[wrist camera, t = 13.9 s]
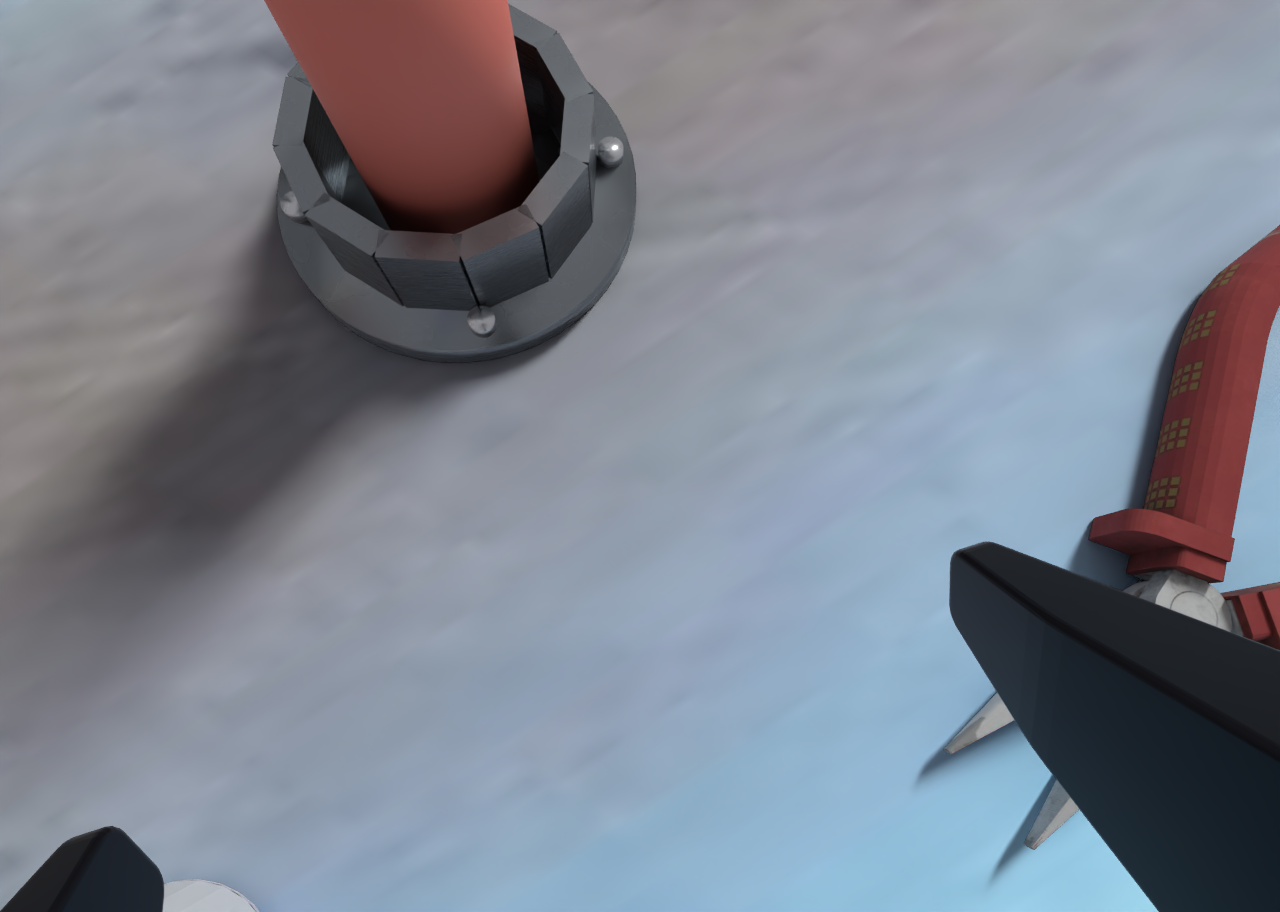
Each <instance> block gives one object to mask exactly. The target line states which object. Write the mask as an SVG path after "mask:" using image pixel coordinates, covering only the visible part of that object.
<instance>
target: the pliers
mask: <svg viewBox="0 0 1280 912" xmlns="http://www.w3.org/2000/svg"><path fill="white" fill-rule="evenodd" d="M1279 305H1280V225H1279V226H1278V227H1277V228H1275V229H1274V230H1273V231H1272V232H1271V233H1269V234H1268V235H1267V236H1265V237H1264V238H1263V239H1262V240H1260V241H1259V242H1258V243H1257V244H1255V245H1254V246H1253V247H1252V248H1250V249H1249V250H1248V251H1247V252H1245V253H1244V254H1243V255H1242V256H1240V257H1239V258H1238V259H1237V260H1235V261H1234V262H1233V263H1231V264H1230V265H1229V266H1228V267H1226V268H1225V269H1224V270H1223V271H1221V272H1220V273H1219V274H1218V275H1217V276H1216V277H1215V278H1214V279H1213V280H1212V281H1211V283H1210V284H1209V286H1208V287H1207V288H1206V290H1205V291H1204V292H1203V294H1202V295H1201V297H1200V298H1199V300H1198V301H1197V304H1196V306H1195V308H1194V310H1193V312H1192V314H1191V316H1190V318H1189V321H1188V323H1187V326H1186V328H1185V331H1184V333H1183V336H1182V340H1181V343H1180V346H1179V349H1178V352H1177V356H1176V361H1175V366H1174V370H1173V375H1172V379H1171V384H1170V389H1169V393H1168V398H1167V402H1166V407H1165V412H1164V416H1163V421H1162V426H1161V430H1160V435H1159V439H1158V444H1157V449H1156V453H1155V458H1154V462H1153V467H1152V472H1151V476H1150V481H1149V486H1148V490H1147V495H1146V499H1145V504H1144V509H1125V510H1121V511H1117V512H1114V513H1110V514H1107V515H1103V516H1099V517H1096V518H1094V519H1093V523H1092V527H1091V531H1090V536H1089V540H1091V541H1094V542H1096V543H1099V544H1102V545H1104V546H1107V547H1110V548H1112V549H1115V550H1118V551H1120V552H1123V553H1126V554H1128V555H1130V556H1129V561H1128V566H1127V570H1126V573H1128V574H1130V575H1133V576H1135V577H1138V578H1140V579H1143V580H1145V581H1143V582H1137V583H1134V584H1133V585H1131V586H1129V587H1128V588H1126V589H1125V590H1123V591H1124V592H1126V593H1129V594H1132V595H1134V596H1137V597H1139V598H1142V599H1145V600H1147V601H1150V602H1153V603H1155V604H1158V605H1161V606H1163V607H1166V608H1169V609H1171V610H1174V611H1176V612H1179V613H1182V614H1184V615H1187V616H1190V617H1192V618H1195V619H1198V620H1200V621H1203V622H1206V623H1208V624H1211V625H1213V626H1216V627H1219V628H1221V629H1224V630H1227V631H1229V632H1232V633H1235V634H1237V635H1240V636H1243V637H1245V638H1248V639H1250V640H1253V641H1256V642H1258V643H1261V644H1264V645H1266V646H1269V647H1272V648H1274V649H1277V650H1280V582H1278V583H1273V584H1267V585H1262V586H1257V587H1251V588H1246V589H1241V590H1235V591H1230V592H1225V593H1219V592H1218V591H1217V590H1216V589H1215V588H1214V587H1212V586H1211V585H1210V584H1209V583H1217V582H1223V581H1224V575H1225V569H1226V563H1227V562H1231V556H1232V551H1233V545H1234V540H1235V539H1234V538H1232V537H1231V536H1232V531H1233V525H1234V520H1235V514H1236V509H1237V504H1238V498H1239V493H1240V487H1241V482H1242V476H1243V471H1244V465H1245V460H1246V454H1247V449H1248V444H1249V438H1250V433H1251V427H1252V422H1253V416H1254V411H1255V405H1256V400H1257V394H1258V389H1259V384H1260V378H1261V373H1262V367H1263V362H1264V356H1265V351H1266V345H1267V340H1268V337H1269V333H1270V330H1271V326H1272V323H1273V320H1274V318H1275V315H1276V312H1277V310H1278V307H1279ZM1012 721H1014V719H1013V717H1012V716H1011V714H1010V712H1009V711H1008V709H1007V708H1006V706H1005V704H1004V703H1003V701H1002V699H1001V698H1000V696H999V695H998V693H996V694H995V695H994V696H993V697H992V698H991V699H990V701H989V702H988V703H987V704H986V705H985V706H984V707H983V708H982V709H981V710H980V711H979V712H978V713H977V714H976V715H975V716H974V717H973V718H972V719H971V721H970V722H969V723H968V724H967V725H966V726H965V727H964V728H963V729H962V730H961V731H960V732H959V733H958V734H957V735H956V736H955V737H954V738H953V739H952V740H951V742H950V743H949V744H948V745H947V746H946V747H945V748H944V751H945V752H946V753H949V754H953V753H955V752H956V751H958V750H960V749H962V748H964V747H966V746H968V745H969V744H971V743H973V742H975V741H977V740H979V739H980V738H982V737H984V736H986V735H988V734H990V733H992V732H993V731H995V730H997V729H999V728H1001V727H1003V726H1005V725H1006V724H1008V723H1010V722H1012ZM1078 810H1079V808H1078V807H1077V805H1076V804H1075V803H1074V801H1073V800H1072V799H1071V798H1070V796H1069V795H1068V794H1067V792H1066V791H1065V790H1064V789H1063V787H1062V786H1061V785H1060V783H1059V782H1058V781H1057V780H1056V782H1055V783H1054V785H1053V787H1052V789H1051V791H1050V793H1049V795H1048V797H1047V799H1046V801H1045V803H1044V805H1043V807H1042V809H1041V811H1040V813H1039V815H1038V817H1037V819H1036V821H1035V823H1034V825H1033V826H1032V828H1031V830H1030V832H1029V834H1028V836H1027V838H1026V840H1025V842H1024V844H1025V845H1026V846H1027V847H1029V848H1031V849H1033V850H1035V849H1036V848H1037V847H1038V846H1039V845H1040V844H1041V843H1043V842H1044V841H1045V840H1046V839H1047V838H1048V837H1049V836H1050V835H1051V834H1053V833H1054V832H1055V831H1056V830H1057V829H1058V828H1059V827H1060V826H1062V825H1063V824H1064V823H1065V822H1066V821H1067V820H1068V819H1069V818H1071V817H1072V816H1073V815H1074V814H1075V813H1076V812H1077V811H1078Z"/></svg>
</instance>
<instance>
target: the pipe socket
mask: <svg viewBox="0 0 1280 912" xmlns="http://www.w3.org/2000/svg"><path fill="white" fill-rule="evenodd" d="M508 6H509V11H510V17H511V23H512V28H513V34H514V40H515V45H516V51H517V57H518V62H519V68H520V74H521V79H522V85H523V90H524V96H525V102H526V107H527V113H528V119H529V124H530V130H531V136H532V141H533V147H534V153H535V158H536V164H537V169H538V175H539V183H538V184H537V186H536V187H535V188H534V190H533V191H532V192H531V193H530V195H529V196H528V197H527V199H526V200H525V201H524V202H523V204H522V205H521V206H520V207H517V208H515V209H513V210H510V211H508V212H506V213H503V214H501V215H499V216H497V217H494V218H492V219H490V220H487V221H485V222H483V223H480V224H478V225H476V226H473V227H471V228H469V229H467V230H464V231H462V232H460V233H457V234H447V233H428V232H410V231H391V230H390V228H389V226H388V224H387V223H386V221H385V219H384V217H383V216H382V214H381V212H380V210H379V208H378V207H377V205H376V203H375V201H374V199H373V197H372V196H371V194H370V192H369V190H368V188H367V186H366V185H365V183H364V181H363V179H362V177H361V176H360V174H359V172H358V170H357V168H356V166H355V165H354V163H353V161H352V159H351V157H350V155H349V154H348V152H347V150H346V148H345V146H344V145H343V143H342V141H341V139H340V137H339V135H338V134H337V132H336V130H335V128H334V126H333V125H332V123H331V121H330V119H329V117H328V115H327V114H326V112H325V110H324V108H323V106H322V104H321V103H320V101H319V99H318V97H317V95H316V94H315V92H314V90H313V88H312V86H311V84H310V83H309V81H308V79H307V77H306V75H305V74H304V72H303V70H302V68H301V66H300V64H299V63H297V64H296V65H295V66H294V67H293V68H292V69H291V70H290V72H289V73H288V76H289V77H286V78H285V83H284V89H283V94H282V99H281V104H280V109H279V114H278V119H277V124H276V129H275V135H274V140H273V146H274V148H273V149H274V151H275V154H276V156H277V158H278V160H279V162H280V165H281V170H280V173H279V181H278V190H277V212H278V220H279V225H280V231H281V236H282V239H283V242H284V244H285V247H286V250H287V253H288V255H289V258H290V259H291V261H292V263H293V265H294V267H295V269H296V270H297V272H298V274H299V276H300V277H301V278H302V280H303V281H304V282H305V284H306V285H307V286H308V288H309V289H310V290H311V292H312V293H313V294H314V295H315V296H316V297H317V299H318V300H319V301H320V302H321V303H322V304H323V306H324V307H325V308H326V309H327V310H328V311H329V312H330V313H331V314H332V315H333V316H334V317H335V318H336V319H337V320H338V321H339V322H340V323H342V324H343V325H345V326H346V327H347V328H349V329H350V330H351V331H353V332H354V333H355V334H357V335H358V336H360V337H362V338H364V339H365V340H367V341H369V342H371V343H373V344H375V345H377V346H379V347H381V348H384V349H386V350H389V351H392V352H394V353H397V354H400V355H404V356H408V357H412V358H416V359H420V360H427V361H435V362H444V363H462V362H477V361H484V360H492V359H496V358H500V357H504V356H508V355H512V354H516V353H519V352H521V351H524V350H526V349H529V348H531V347H534V346H537V345H539V344H541V343H543V342H544V341H546V340H548V339H550V338H552V337H554V336H556V335H557V334H559V333H561V332H562V331H563V330H565V329H566V328H568V327H569V326H570V325H572V324H573V323H575V322H576V321H577V320H579V319H580V318H581V317H582V316H583V315H584V314H585V313H586V312H587V311H588V310H589V309H590V308H591V307H593V306H594V305H595V303H596V302H597V301H598V300H599V298H600V297H601V296H602V295H603V294H604V292H605V291H606V290H607V289H608V287H609V286H610V284H611V283H612V281H613V279H614V278H615V276H616V274H617V273H618V271H619V269H620V267H621V265H622V263H623V260H624V258H625V256H626V254H627V251H628V248H629V244H630V241H631V237H632V233H633V228H634V220H635V212H636V172H635V167H634V161H633V155H632V151H631V148H630V145H629V142H628V139H627V136H626V134H625V132H624V130H623V128H622V126H621V124H620V122H619V120H618V118H617V116H616V115H615V113H614V112H613V110H612V109H611V107H610V106H609V104H608V103H607V102H606V100H605V99H604V98H603V97H602V96H601V95H600V94H599V92H598V91H597V90H596V89H595V88H594V87H593V86H592V85H591V84H590V83H589V82H587V80H586V78H585V77H584V75H583V73H582V72H581V70H580V68H579V66H578V65H577V63H576V61H575V60H574V58H573V56H572V55H571V53H570V51H569V49H568V48H567V46H566V44H565V43H564V41H563V39H562V38H561V36H560V34H559V33H558V34H557V31H556V30H554V29H552V28H551V27H549V26H547V25H545V24H543V23H542V22H540V21H538V20H536V19H534V18H533V17H531V16H529V15H527V14H525V13H524V12H522V11H520V10H518V9H516V8H515V7H513V6H511V5H509V4H508Z"/></svg>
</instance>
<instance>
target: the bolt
mask: <svg viewBox="0 0 1280 912" xmlns="http://www.w3.org/2000/svg"><path fill="white" fill-rule="evenodd" d="M163 912H260V911H259V910H258V909H257V907H256V906H255V905H254V904H253V903H251V902H250V901H249V900H248V899H247V898H245V897H244V896H243V895H242V894H241V893H239V892H237V891H235V890H233V889H231V888H229V887H227V886H225V885H223V884H221V883H216V882H211V881H205V880H200V879H192V880H179V881H172V882H169V883H166V884H164V903H163Z"/></svg>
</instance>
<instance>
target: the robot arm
mask: <svg viewBox="0 0 1280 912" xmlns="http://www.w3.org/2000/svg"><path fill="white" fill-rule="evenodd" d="M949 605H950V612H951V615H952V618H953V621H954V623H955V625H956V627H957V629H958V630H959V632H960V633H961V635H962V637H963V638H964V640H965V642H966V643H967V645H968V646H969V648H970V650H971V651H972V653H973V654H974V656H975V658H976V659H977V661H978V662H979V664H980V666H981V667H982V669H983V670H984V672H985V674H986V675H987V677H988V679H989V680H990V682H991V683H992V685H993V687H994V688H995V690H996V691H997V693H998V695H999V696H1000V698H1001V699H1002V701H1003V703H1004V704H1005V706H1006V708H1007V709H1008V711H1009V712H1010V714H1011V716H1012V717H1013V719H1014V720H1015V722H1016V724H1017V725H1018V727H1019V728H1020V730H1021V731H1022V733H1023V734H1024V736H1025V737H1026V739H1027V740H1028V742H1029V743H1030V745H1031V746H1032V748H1033V749H1034V750H1035V752H1036V753H1037V754H1038V756H1039V757H1040V759H1041V760H1042V761H1043V763H1044V764H1045V765H1046V767H1047V768H1048V769H1049V770H1050V772H1051V773H1052V774H1053V776H1054V777H1055V778H1056V780H1057V781H1058V782H1059V783H1060V785H1061V786H1062V787H1063V789H1064V790H1065V791H1066V792H1067V794H1068V795H1069V796H1070V798H1071V799H1072V800H1073V801H1074V803H1075V804H1076V805H1077V807H1078V808H1079V809H1080V811H1081V812H1082V813H1083V814H1084V816H1085V817H1086V818H1087V820H1088V821H1089V822H1090V823H1091V825H1092V826H1093V827H1094V829H1095V830H1096V831H1097V832H1098V834H1099V835H1100V836H1101V838H1102V839H1103V840H1104V842H1105V843H1106V844H1107V845H1108V847H1109V848H1110V849H1111V851H1112V852H1113V853H1114V854H1115V856H1116V857H1117V858H1118V860H1119V861H1120V862H1121V863H1122V865H1123V866H1124V867H1125V869H1126V870H1127V871H1128V872H1129V874H1130V875H1131V876H1132V878H1133V879H1134V880H1135V882H1136V883H1137V884H1138V885H1139V887H1140V888H1141V889H1142V891H1143V892H1144V893H1145V894H1146V896H1147V897H1148V898H1149V900H1150V901H1151V902H1152V903H1153V905H1154V906H1155V907H1156V909H1157V910H1158V911H1159V912H1280V650H1277V649H1274V648H1272V647H1269V646H1266V645H1264V644H1261V643H1258V642H1256V641H1253V640H1250V639H1248V638H1245V637H1243V636H1240V635H1237V634H1235V633H1232V632H1229V631H1227V630H1224V629H1221V628H1219V627H1216V626H1213V625H1211V624H1208V623H1206V622H1203V621H1200V620H1198V619H1195V618H1192V617H1190V616H1187V615H1184V614H1182V613H1179V612H1176V611H1174V610H1171V609H1169V608H1166V607H1163V606H1161V605H1158V604H1155V603H1153V602H1150V601H1147V600H1145V599H1142V598H1139V597H1137V596H1134V595H1132V594H1129V593H1126V592H1124V591H1121V590H1118V589H1116V588H1113V587H1110V586H1108V585H1105V584H1102V583H1100V582H1097V581H1095V580H1092V579H1089V578H1087V577H1084V576H1081V575H1079V574H1076V573H1073V572H1071V571H1068V570H1065V569H1063V568H1060V567H1058V566H1055V565H1052V564H1050V563H1047V562H1044V561H1042V560H1039V559H1036V558H1034V557H1031V556H1028V555H1026V554H1023V553H1021V552H1018V551H1015V550H1013V549H1010V548H1007V547H1005V546H1002V545H999V544H997V543H993V542H982V543H978V544H975V545H972V546H969V547H966V548H963V549H960V550H957V551H956V552H954V554H953V555H952V557H951V562H950V597H949ZM163 903H164V882H163V878H162V875H161V872H160V870H159V868H158V867H157V866H156V865H155V864H154V863H153V862H152V860H151V859H150V858H149V857H148V856H147V855H146V854H145V853H144V852H143V851H142V850H141V849H140V848H139V847H138V846H137V845H136V844H135V843H134V842H133V840H132V839H131V838H130V837H129V836H128V835H127V834H126V833H125V832H124V831H123V830H121V829H120V828H116V827H113V826H109V827H104V828H100V829H97V830H94V831H91V832H88V833H85V834H82V835H79V836H76V837H73V838H71V839H69V840H67V841H66V842H65V843H63V844H62V845H61V846H60V847H59V848H58V849H57V850H56V851H55V852H54V853H53V854H52V855H51V856H50V858H49V859H48V860H47V861H46V862H45V863H44V864H43V865H42V866H41V867H40V868H39V869H38V871H37V872H36V873H35V874H34V875H33V876H32V877H31V878H30V879H29V880H28V881H27V883H26V884H25V885H24V886H23V887H22V888H21V889H20V890H19V891H18V892H17V893H16V894H15V896H14V897H13V898H12V899H11V900H10V901H9V902H8V903H7V904H6V905H5V906H4V908H3V909H2V910H1V911H0V912H163Z"/></svg>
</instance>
